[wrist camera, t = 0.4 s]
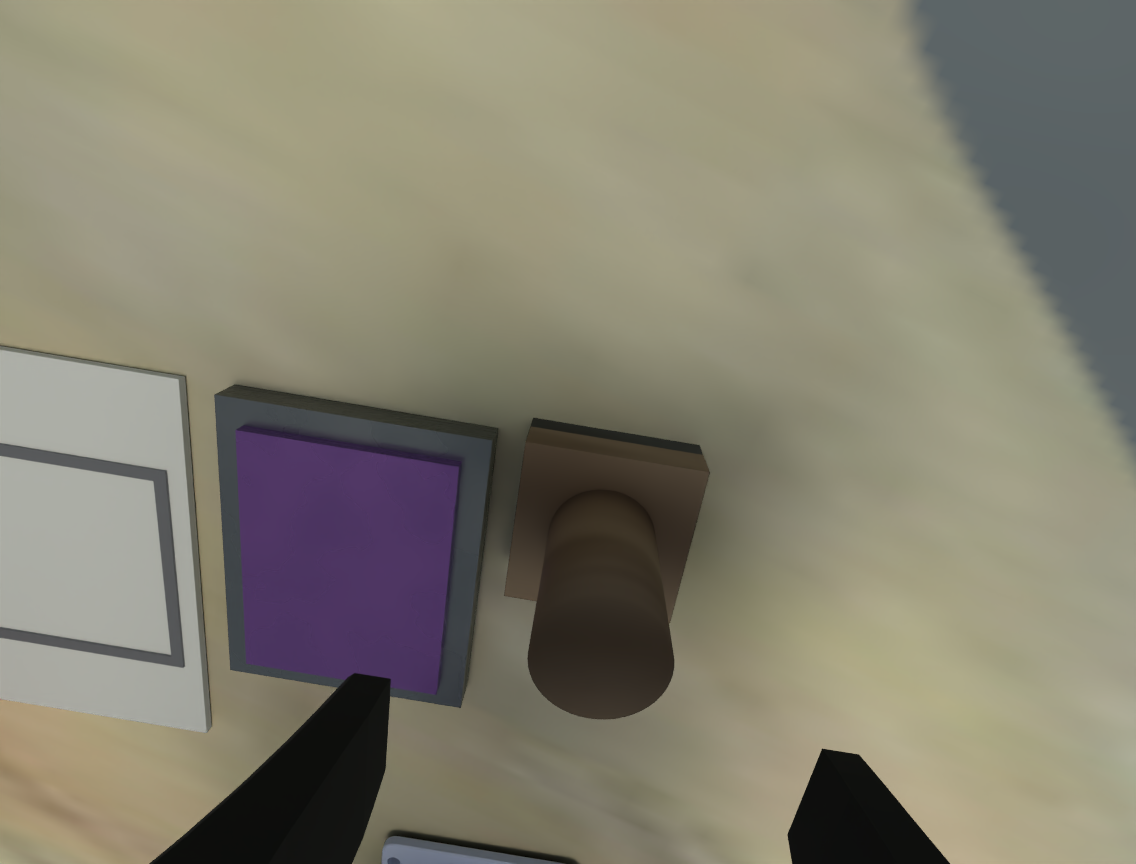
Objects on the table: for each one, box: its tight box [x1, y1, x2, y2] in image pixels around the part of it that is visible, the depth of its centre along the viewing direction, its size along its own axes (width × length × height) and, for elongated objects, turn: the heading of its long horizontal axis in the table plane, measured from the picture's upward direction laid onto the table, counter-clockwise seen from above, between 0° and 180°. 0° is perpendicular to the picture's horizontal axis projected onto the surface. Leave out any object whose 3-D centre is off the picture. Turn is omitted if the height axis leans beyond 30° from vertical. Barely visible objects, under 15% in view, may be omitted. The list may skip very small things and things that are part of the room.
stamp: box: [504, 418, 710, 719], centre depth 16 cm, size 5×5×7 cm
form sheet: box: [0, 346, 212, 733], centre depth 20 cm, size 14×9×1 cm, turn 171°
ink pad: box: [214, 385, 498, 708], centre depth 19 cm, size 10×8×1 cm
